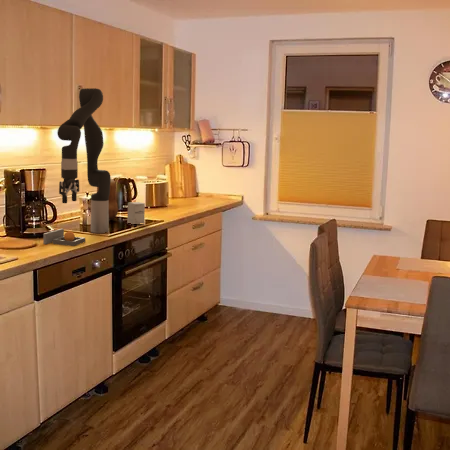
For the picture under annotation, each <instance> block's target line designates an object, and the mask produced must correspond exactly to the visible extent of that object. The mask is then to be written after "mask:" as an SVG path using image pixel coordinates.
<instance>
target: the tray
mask: <svg viewBox="0 0 450 450" xmlns="http://www.w3.org/2000/svg"><path fill="white" fill-rule="evenodd" d="M83 242H84V243H86V237H83V236H75V238H74V240H73V241H67V240H65V239H64V236H63V237H60V238H56V239H53V242H52V244H53V245H60V246H70V247H75V246H78V245H80V243H81V244H83ZM74 245H75V246H74Z"/></svg>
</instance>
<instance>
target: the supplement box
mask: <svg viewBox="0 0 450 450" xmlns="http://www.w3.org/2000/svg"><path fill="white" fill-rule="evenodd" d="M145 207H146V203H144V202H140V201H136V202H135V201H133V202H131V201H130V202H127V224H128V223H131V224H140V223H144V224H145V212H146V211H145V209H146V208H145ZM131 224H130V225H131Z"/></svg>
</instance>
